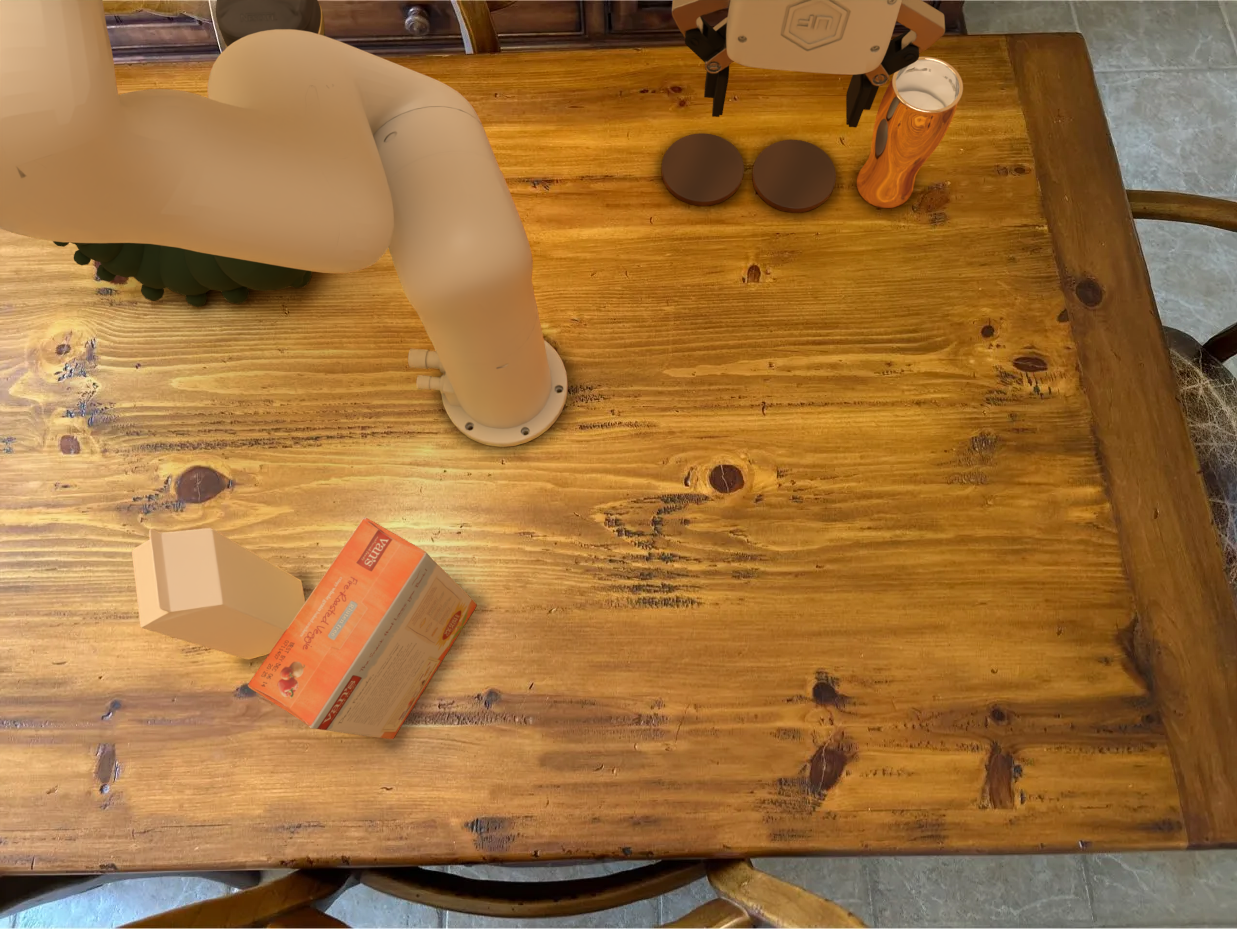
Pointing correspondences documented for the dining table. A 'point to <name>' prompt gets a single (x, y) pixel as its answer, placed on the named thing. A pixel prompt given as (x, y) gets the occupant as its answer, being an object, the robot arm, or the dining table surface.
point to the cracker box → (366, 637)
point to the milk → (213, 592)
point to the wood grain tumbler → (908, 129)
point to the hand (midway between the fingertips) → (784, 106)
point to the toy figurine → (186, 271)
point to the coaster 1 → (702, 169)
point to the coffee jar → (267, 17)
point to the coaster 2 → (794, 176)
